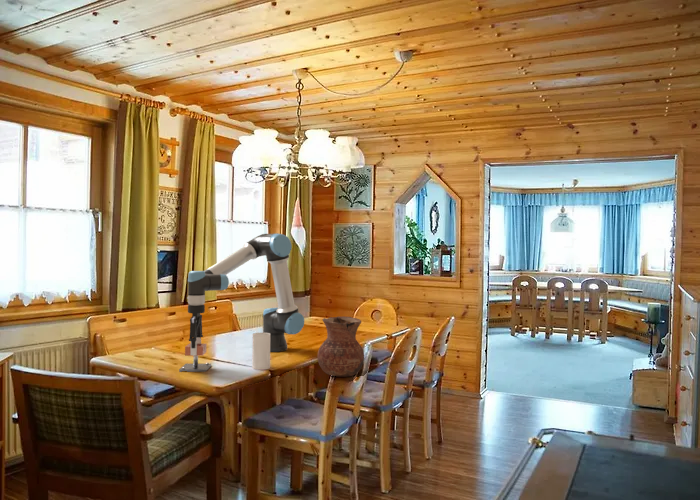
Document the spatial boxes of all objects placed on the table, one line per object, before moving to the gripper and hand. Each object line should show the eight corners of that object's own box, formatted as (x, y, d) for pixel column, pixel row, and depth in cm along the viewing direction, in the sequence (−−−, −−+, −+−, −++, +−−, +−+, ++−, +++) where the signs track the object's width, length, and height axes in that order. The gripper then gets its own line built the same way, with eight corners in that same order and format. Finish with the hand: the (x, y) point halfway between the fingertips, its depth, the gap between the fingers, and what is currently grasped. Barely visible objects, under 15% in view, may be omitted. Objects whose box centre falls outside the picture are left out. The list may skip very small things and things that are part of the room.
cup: (253, 365, 261) (253, 332, 260) (270, 365, 261) (270, 332, 261) (251, 369, 252) (251, 335, 252) (269, 369, 253) (269, 335, 253)
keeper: (211, 365, 259) (211, 345, 259) (206, 371, 248) (206, 350, 247) (185, 365, 259) (185, 345, 259) (179, 371, 247) (179, 350, 247)
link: (206, 352, 257) (206, 343, 257) (202, 355, 249) (202, 346, 249) (189, 351, 257) (189, 343, 257) (185, 355, 249) (185, 346, 249)
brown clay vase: (370, 378, 240) (370, 321, 240) (323, 380, 234) (324, 322, 234) (355, 366, 261) (356, 314, 261) (312, 369, 255) (313, 315, 255)
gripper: (193, 301, 263) (192, 348, 263) (182, 306, 242) (181, 357, 242) (209, 301, 263) (208, 348, 264) (199, 306, 243) (199, 357, 243)
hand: (195, 353), depth 253 cm, fingers closed on link, 8 cm apart
